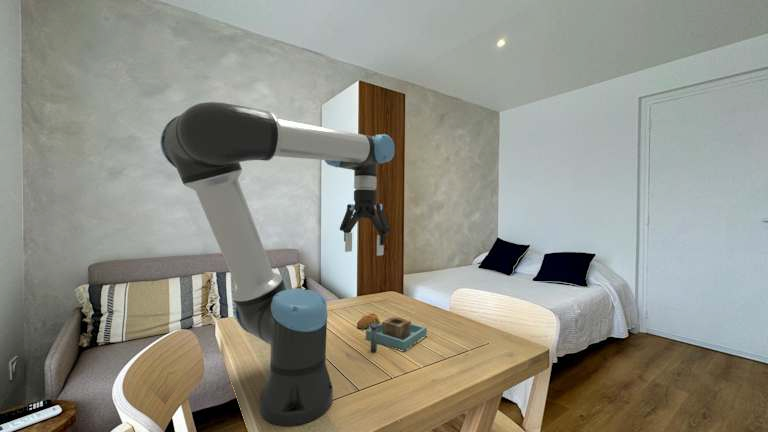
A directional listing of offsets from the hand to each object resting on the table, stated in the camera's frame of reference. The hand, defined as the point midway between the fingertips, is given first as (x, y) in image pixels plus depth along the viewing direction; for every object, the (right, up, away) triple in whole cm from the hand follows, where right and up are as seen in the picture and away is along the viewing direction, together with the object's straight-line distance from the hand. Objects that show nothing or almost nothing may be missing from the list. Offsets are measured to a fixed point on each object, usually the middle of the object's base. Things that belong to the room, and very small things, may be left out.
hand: (363, 253), depth 98 cm
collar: (+11, -28, +2) cm, 31 cm away
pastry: (+1, -29, +13) cm, 32 cm away
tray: (+11, -29, +2) cm, 31 cm away
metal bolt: (+4, -29, -9) cm, 30 cm away
